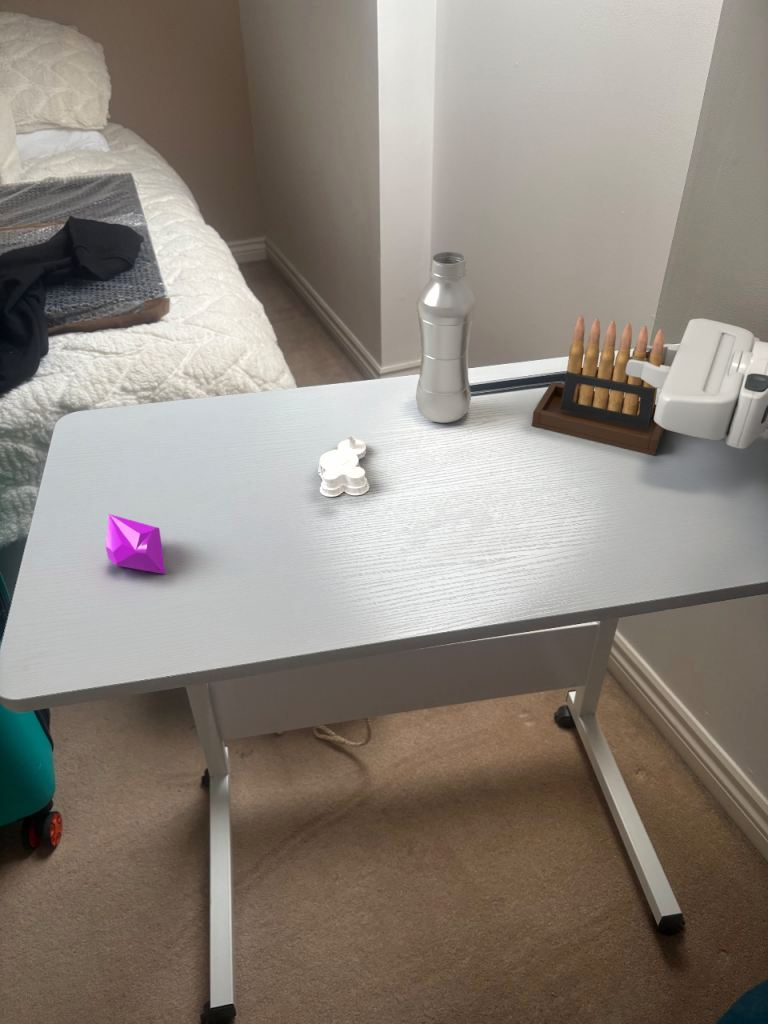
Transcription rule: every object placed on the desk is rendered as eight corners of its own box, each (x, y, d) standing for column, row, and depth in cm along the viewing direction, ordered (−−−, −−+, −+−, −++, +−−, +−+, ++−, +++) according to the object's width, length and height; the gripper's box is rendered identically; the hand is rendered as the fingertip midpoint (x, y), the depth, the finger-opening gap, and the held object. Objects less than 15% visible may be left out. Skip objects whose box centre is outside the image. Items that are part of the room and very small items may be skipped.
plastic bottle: (471, 429, 99) (482, 270, 87) (415, 429, 100) (418, 270, 87) (468, 401, 104) (478, 246, 92) (414, 401, 105) (417, 246, 92)
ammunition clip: (652, 420, 98) (671, 326, 90) (649, 428, 96) (668, 333, 89) (563, 401, 101) (575, 310, 94) (559, 409, 100) (570, 317, 93)
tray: (666, 422, 100) (670, 407, 99) (654, 455, 95) (657, 440, 94) (549, 396, 105) (551, 381, 104) (531, 426, 100) (533, 411, 99)
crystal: (110, 581, 80) (99, 545, 77) (118, 544, 84) (108, 509, 81) (165, 577, 80) (156, 541, 77) (170, 540, 84) (162, 505, 81)
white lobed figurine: (397, 484, 91) (397, 468, 90) (327, 508, 88) (326, 492, 87) (358, 442, 98) (357, 426, 96) (291, 463, 95) (289, 447, 93)
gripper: (777, 317, 94) (654, 296, 99) (757, 405, 80) (614, 375, 84) (762, 366, 98) (644, 343, 103) (740, 458, 84) (604, 427, 88)
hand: (630, 358), depth 93 cm, fingers closed on ammunition clip, 2 cm apart
